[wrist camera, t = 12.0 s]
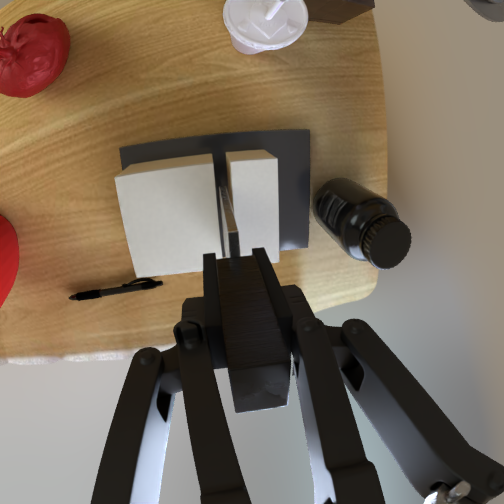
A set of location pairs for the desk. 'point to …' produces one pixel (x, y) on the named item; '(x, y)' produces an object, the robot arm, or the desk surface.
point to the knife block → (336, 10)
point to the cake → (170, 214)
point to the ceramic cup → (7, 258)
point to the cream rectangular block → (255, 200)
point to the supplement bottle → (362, 223)
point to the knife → (249, 326)
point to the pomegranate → (32, 54)
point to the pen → (118, 289)
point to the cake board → (273, 141)
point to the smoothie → (264, 23)
